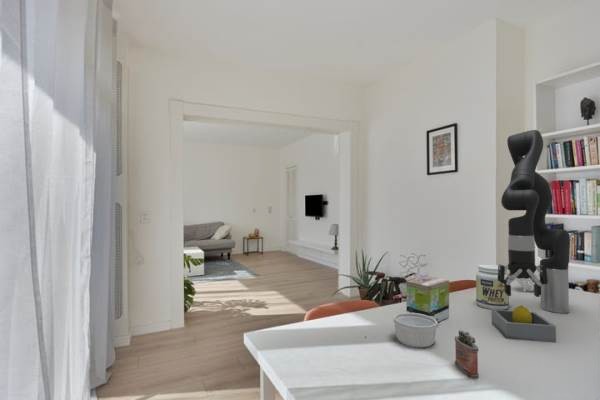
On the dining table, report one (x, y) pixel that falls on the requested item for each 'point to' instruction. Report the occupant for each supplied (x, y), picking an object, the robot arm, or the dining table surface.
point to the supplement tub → (490, 288)
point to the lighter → (466, 354)
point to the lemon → (521, 315)
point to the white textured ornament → (527, 285)
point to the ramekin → (415, 329)
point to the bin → (524, 327)
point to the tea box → (428, 297)
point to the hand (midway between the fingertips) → (522, 295)
